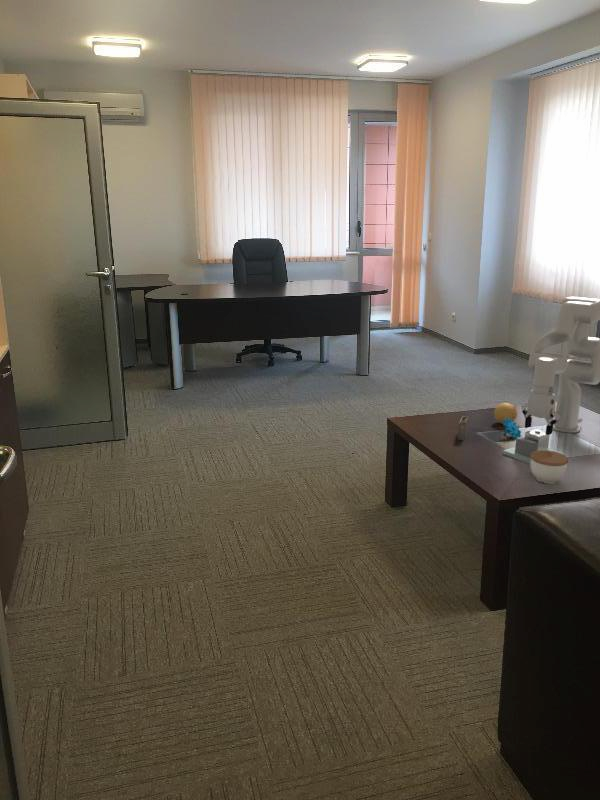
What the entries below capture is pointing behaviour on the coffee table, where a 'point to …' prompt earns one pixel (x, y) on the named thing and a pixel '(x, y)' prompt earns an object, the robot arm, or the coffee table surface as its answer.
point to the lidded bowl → (548, 465)
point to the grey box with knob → (538, 438)
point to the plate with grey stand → (524, 449)
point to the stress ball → (505, 412)
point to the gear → (511, 428)
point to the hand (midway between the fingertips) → (538, 430)
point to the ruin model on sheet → (463, 428)
